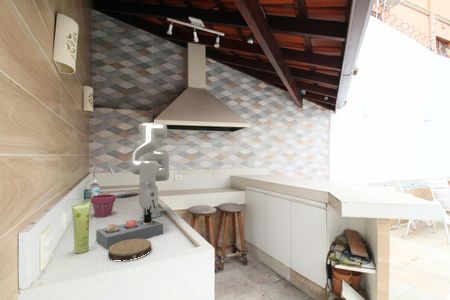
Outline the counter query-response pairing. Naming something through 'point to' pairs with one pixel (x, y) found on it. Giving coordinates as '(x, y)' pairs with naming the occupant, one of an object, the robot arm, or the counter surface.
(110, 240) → the knob panel
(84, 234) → the tube
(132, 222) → the knob red
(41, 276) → the counter surface
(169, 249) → the counter surface
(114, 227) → the knob
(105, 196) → the plant pot
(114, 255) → the wood log slice
